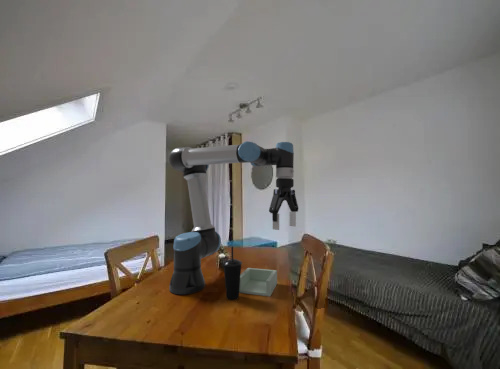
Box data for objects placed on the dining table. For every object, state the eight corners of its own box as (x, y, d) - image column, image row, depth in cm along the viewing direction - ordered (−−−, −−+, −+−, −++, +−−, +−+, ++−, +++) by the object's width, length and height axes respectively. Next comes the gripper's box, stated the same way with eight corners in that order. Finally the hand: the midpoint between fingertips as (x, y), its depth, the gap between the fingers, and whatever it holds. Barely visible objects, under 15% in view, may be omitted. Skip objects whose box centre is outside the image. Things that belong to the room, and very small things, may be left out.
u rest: (237, 292, 97) (237, 277, 97) (248, 280, 110) (247, 267, 110) (270, 296, 92) (269, 281, 93) (277, 283, 106) (276, 270, 106)
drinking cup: (239, 302, 87) (239, 248, 88) (220, 300, 89) (220, 248, 90) (244, 294, 95) (243, 244, 96) (226, 292, 96) (226, 244, 97)
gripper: (276, 176, 88) (275, 232, 87) (305, 179, 107) (305, 225, 107) (260, 177, 93) (260, 230, 92) (291, 180, 112) (291, 224, 111)
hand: (284, 227), depth 99 cm, fingers open, 13 cm apart
